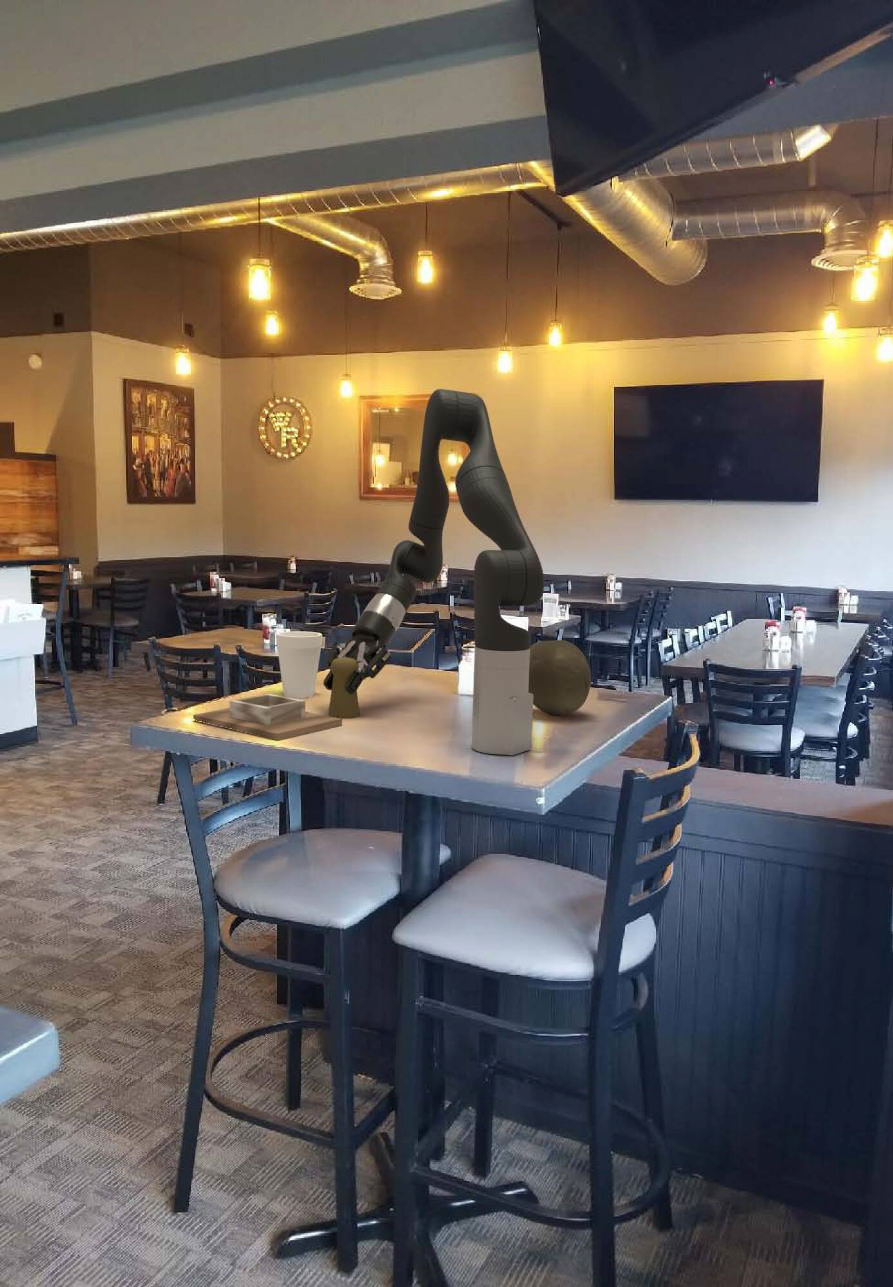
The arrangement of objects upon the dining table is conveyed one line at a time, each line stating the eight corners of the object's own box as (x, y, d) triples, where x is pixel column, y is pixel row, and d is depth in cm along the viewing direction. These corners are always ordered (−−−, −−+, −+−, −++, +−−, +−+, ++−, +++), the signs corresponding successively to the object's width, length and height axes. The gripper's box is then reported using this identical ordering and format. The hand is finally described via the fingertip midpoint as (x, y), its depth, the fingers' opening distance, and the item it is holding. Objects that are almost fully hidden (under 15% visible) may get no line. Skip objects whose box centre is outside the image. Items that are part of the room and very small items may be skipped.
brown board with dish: (342, 725, 176) (342, 702, 175) (277, 740, 163) (277, 716, 163) (258, 708, 189) (258, 687, 188) (193, 721, 176) (193, 698, 175)
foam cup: (268, 697, 200) (268, 635, 198) (289, 689, 209) (289, 630, 207) (309, 701, 197) (309, 638, 196) (328, 693, 206) (329, 633, 204)
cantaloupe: (569, 706, 199) (572, 634, 197) (601, 721, 186) (605, 644, 183) (506, 709, 194) (508, 635, 192) (534, 724, 181) (537, 645, 179)
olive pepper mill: (354, 718, 182) (355, 661, 180) (323, 716, 183) (324, 659, 181) (363, 712, 187) (364, 656, 186) (333, 710, 189) (334, 654, 187)
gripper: (343, 606, 193) (300, 673, 185) (399, 612, 184) (356, 682, 176) (361, 630, 197) (319, 696, 190) (416, 637, 189) (375, 706, 181)
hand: (337, 689), depth 183 cm, fingers closed on olive pepper mill, 5 cm apart
